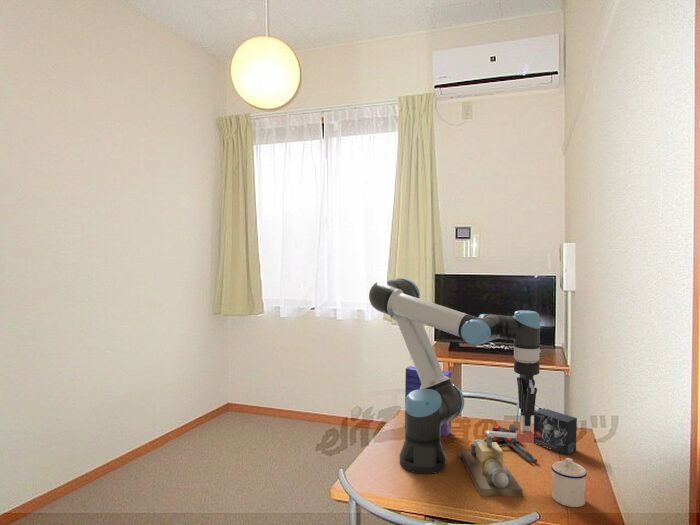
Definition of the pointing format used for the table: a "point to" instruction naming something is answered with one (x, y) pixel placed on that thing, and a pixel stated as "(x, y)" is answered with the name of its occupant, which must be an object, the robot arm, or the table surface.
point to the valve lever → (512, 435)
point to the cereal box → (414, 384)
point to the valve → (511, 442)
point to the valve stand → (490, 470)
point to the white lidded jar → (568, 483)
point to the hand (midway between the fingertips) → (526, 434)
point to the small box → (555, 431)
